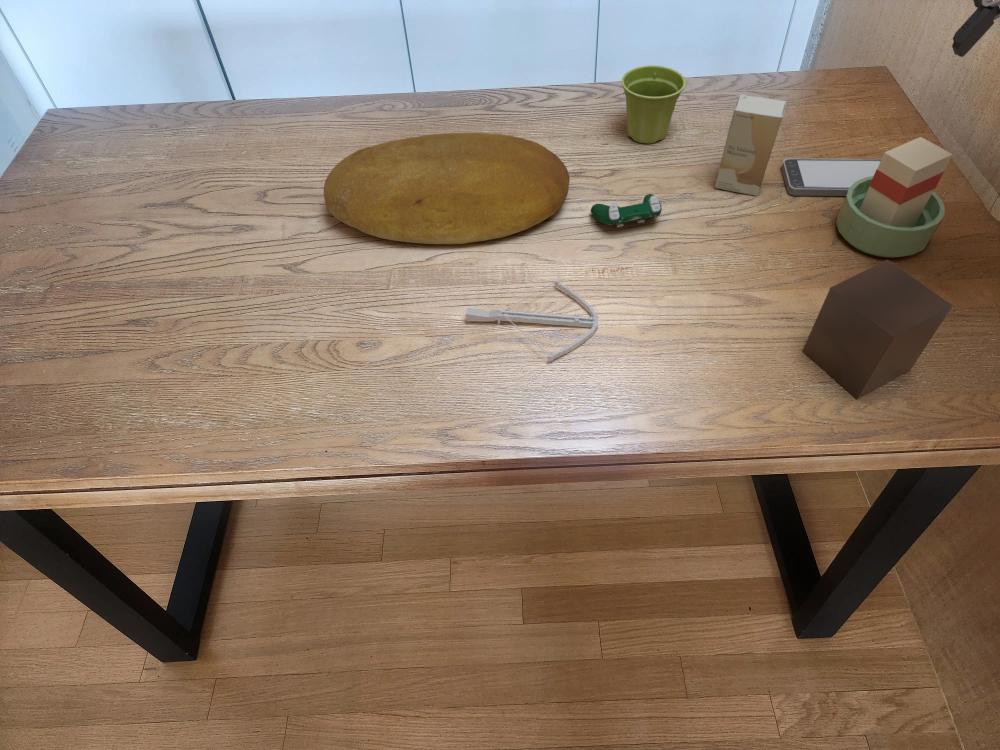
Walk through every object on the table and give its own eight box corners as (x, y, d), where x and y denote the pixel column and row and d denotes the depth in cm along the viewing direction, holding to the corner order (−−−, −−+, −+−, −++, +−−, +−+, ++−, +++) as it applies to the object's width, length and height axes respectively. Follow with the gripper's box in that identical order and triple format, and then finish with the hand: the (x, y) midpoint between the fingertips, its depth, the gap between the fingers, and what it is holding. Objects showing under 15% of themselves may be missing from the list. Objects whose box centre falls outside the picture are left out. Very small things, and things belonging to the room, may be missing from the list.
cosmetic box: (713, 189, 95) (731, 109, 86) (719, 172, 98) (737, 92, 88) (759, 197, 93) (783, 116, 84) (764, 179, 96) (787, 99, 86)
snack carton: (914, 229, 86) (953, 154, 77) (879, 245, 84) (915, 171, 76) (885, 210, 89) (920, 136, 80) (851, 226, 87) (883, 152, 79)
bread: (336, 181, 102) (318, 121, 95) (562, 162, 102) (563, 100, 94) (321, 260, 91) (299, 199, 83) (576, 239, 90) (578, 176, 82)
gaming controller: (593, 233, 94) (604, 228, 88) (588, 206, 93) (599, 199, 87) (655, 221, 94) (670, 215, 88) (651, 194, 94) (666, 186, 88)
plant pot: (679, 119, 107) (687, 66, 100) (675, 152, 101) (683, 98, 95) (621, 116, 109) (625, 63, 102) (613, 148, 103) (618, 95, 96)
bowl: (946, 241, 85) (965, 209, 81) (883, 273, 82) (899, 241, 79) (877, 197, 92) (891, 165, 88) (815, 225, 89) (827, 193, 85)
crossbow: (597, 292, 85) (599, 281, 83) (595, 369, 77) (597, 357, 75) (473, 283, 86) (473, 271, 84) (459, 357, 78) (458, 346, 76)
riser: (910, 369, 73) (953, 305, 65) (856, 399, 71) (893, 336, 63) (854, 324, 78) (887, 259, 70) (801, 351, 76) (830, 287, 68)
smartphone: (782, 158, 97) (891, 159, 95) (780, 164, 98) (888, 165, 96) (790, 188, 92) (905, 190, 90) (788, 195, 93) (902, 196, 91)
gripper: (1078, -158, 56) (922, 19, 62) (1271, -120, 48) (1070, 80, 54) (1081, -97, 61) (938, 60, 67) (1255, -54, 53) (1074, 122, 59)
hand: (997, 69), depth 61 cm, fingers open, 8 cm apart
